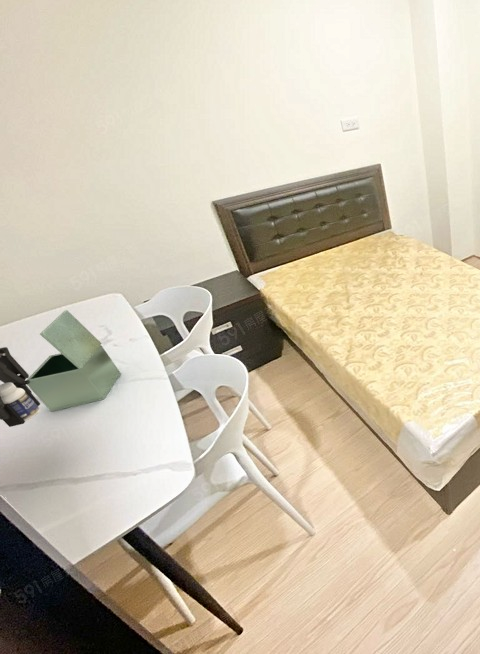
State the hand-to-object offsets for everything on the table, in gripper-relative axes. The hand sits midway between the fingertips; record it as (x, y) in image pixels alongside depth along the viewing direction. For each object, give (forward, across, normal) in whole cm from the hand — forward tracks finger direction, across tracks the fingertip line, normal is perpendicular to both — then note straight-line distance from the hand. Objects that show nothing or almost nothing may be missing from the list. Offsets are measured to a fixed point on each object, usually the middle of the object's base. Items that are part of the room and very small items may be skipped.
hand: (25, 414), depth 101 cm
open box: (+17, +28, +6) cm, 33 cm away
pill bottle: (+1, 0, 0) cm, 1 cm away
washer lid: (-4, +28, +1) cm, 28 cm away
